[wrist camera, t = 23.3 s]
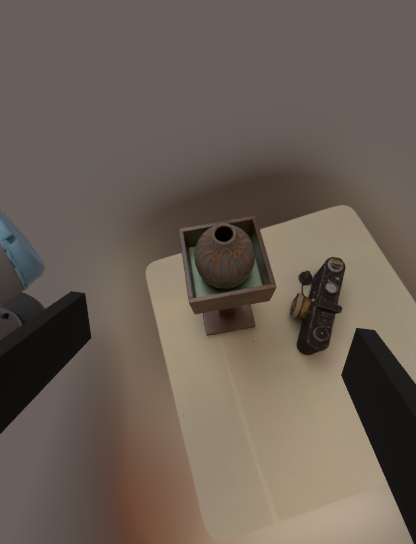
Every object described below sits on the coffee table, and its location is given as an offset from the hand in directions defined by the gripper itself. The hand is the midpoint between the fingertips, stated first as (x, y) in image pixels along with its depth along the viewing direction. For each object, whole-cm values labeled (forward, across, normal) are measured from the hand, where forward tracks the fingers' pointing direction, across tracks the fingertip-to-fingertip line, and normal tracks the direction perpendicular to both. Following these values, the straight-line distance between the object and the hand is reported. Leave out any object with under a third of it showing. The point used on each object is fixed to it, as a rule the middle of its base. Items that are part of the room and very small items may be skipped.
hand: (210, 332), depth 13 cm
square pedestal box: (+33, -1, -17) cm, 37 cm away
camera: (+34, +14, -16) cm, 41 cm away
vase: (+20, -1, -5) cm, 21 cm away
